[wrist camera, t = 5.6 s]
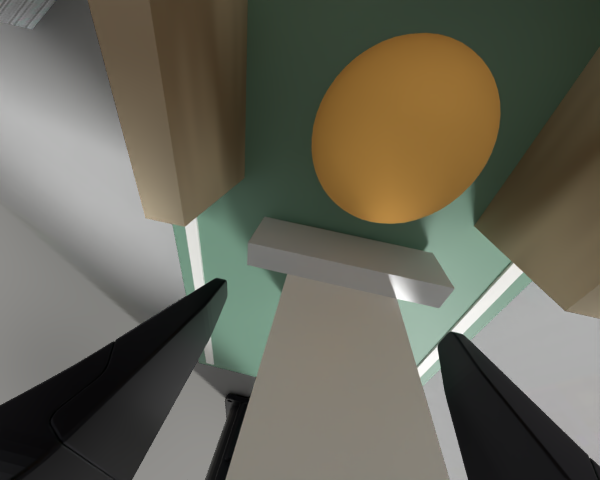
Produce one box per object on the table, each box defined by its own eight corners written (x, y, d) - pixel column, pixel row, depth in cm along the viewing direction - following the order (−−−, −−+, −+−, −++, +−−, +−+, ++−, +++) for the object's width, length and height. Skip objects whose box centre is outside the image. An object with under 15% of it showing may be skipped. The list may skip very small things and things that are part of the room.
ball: (637, -12, 3) (457, 96, 7) (337, -60, 3) (329, 72, 7) (497, 263, 4) (412, 221, 8) (286, 218, 4) (303, 198, 8)
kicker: (386, 327, 12) (450, 636, 5) (258, 297, 12) (153, 551, 5) (433, 252, 9) (725, 729, 2) (264, 216, 9) (57, 538, 2)
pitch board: (393, 396, 18) (396, 413, 17) (205, 351, 18) (198, 364, 18) (847, -89, 5) (974, -137, 4) (122, -194, 5) (76, -257, 4)
